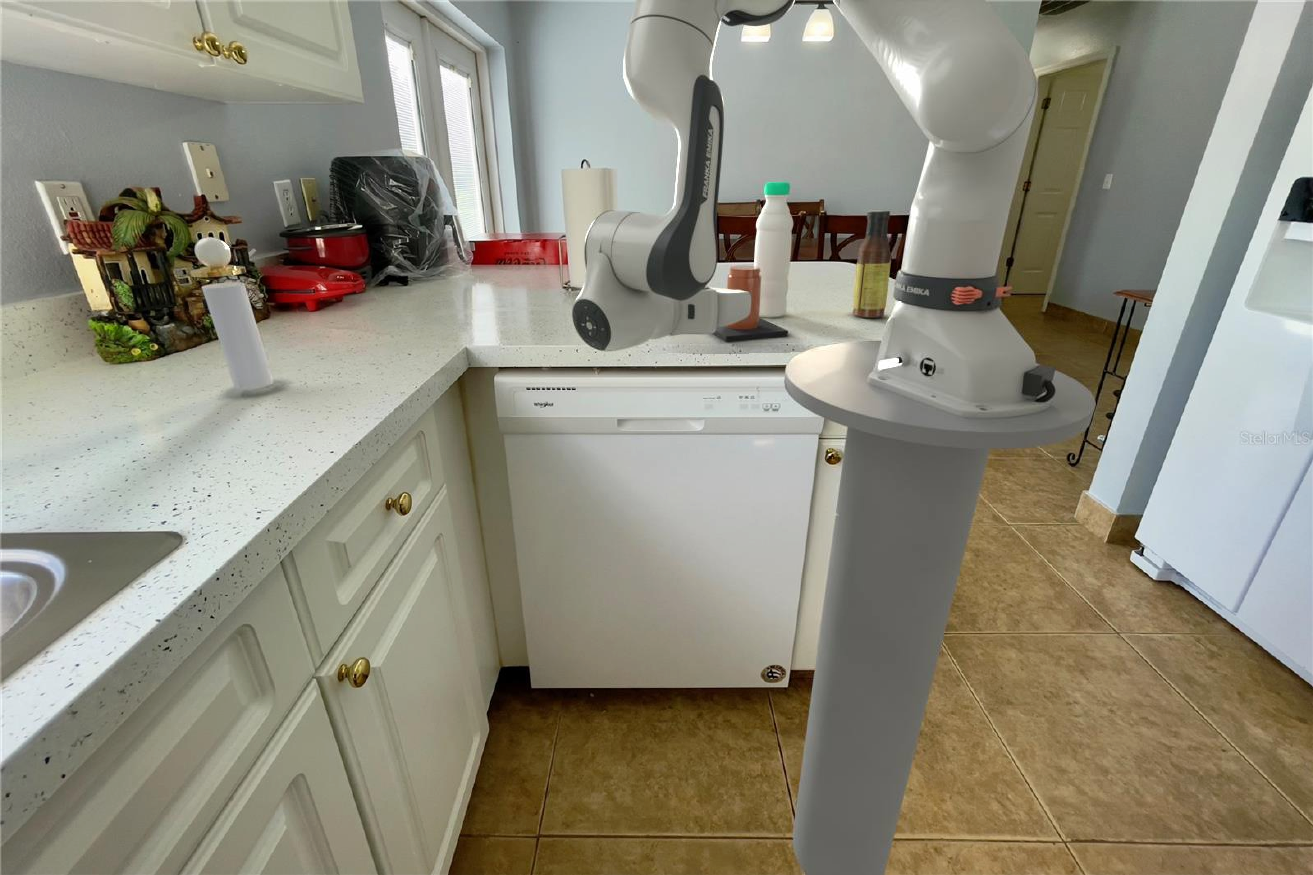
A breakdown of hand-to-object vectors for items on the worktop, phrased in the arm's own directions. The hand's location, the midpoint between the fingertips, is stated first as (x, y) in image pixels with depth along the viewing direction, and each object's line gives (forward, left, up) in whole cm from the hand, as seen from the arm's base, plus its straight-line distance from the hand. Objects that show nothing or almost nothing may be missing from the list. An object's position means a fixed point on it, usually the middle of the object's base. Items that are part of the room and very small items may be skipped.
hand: (715, 291), depth 97 cm
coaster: (+5, -8, -9) cm, 13 cm away
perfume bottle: (-2, +69, -9) cm, 70 cm away
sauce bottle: (+8, -37, -9) cm, 39 cm away
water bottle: (+16, -19, -9) cm, 26 cm away
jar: (+5, -8, -7) cm, 12 cm away
